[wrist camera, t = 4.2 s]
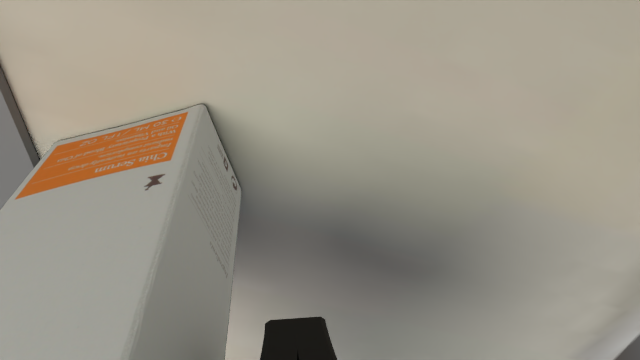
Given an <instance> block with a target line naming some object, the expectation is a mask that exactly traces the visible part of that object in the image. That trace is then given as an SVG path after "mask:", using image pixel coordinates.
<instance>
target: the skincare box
mask: <svg viewBox="0 0 640 360" xmlns="http://www.w3.org/2000/svg"><path fill="white" fill-rule="evenodd" d="M240 202H241V188H240V186H239V184H238V181H237V179H236V177H235V174H234V172H233V169H232V167H231V165H230V162H229V160H228V158H227V155H226V153H225V151H224V149H223V146H222V144H221V142H220V139H219V137H218V135H217V132H216V130H215V128H214V125H213V123H212V121H211V118H210V115H209V113H208V111H207V108H206V106H205V105H203V104H200V105H196V106H193V107H190V108H187V109H184V110H181V111H177V112H173V113H169V114H165V115H161V116H157V117H154V118H150V119H146V120H143V121H139V122H136V123H132V124H128V125H124V126H120V127H116V128H112V129H107V130H103V131H99V132H95V133H90V134H86V135H82V136H78V137H74V138H70V139H65V140H61V141H58V142H55V143H54V144H53V145H52V146H51V148H50V149H49V150H48V151H47V153H46V154H45V155H44V156H43V158H42V159H41V160H40V161H39V162H38V164H37V165H36V166H35V168H34V169H33V170H32V171H31V172H30V173H29V175H28V176H27V177H26V178H25V180H24V181H23V182H22V183H21V185H20V186H19V187H18V188H17V190H16V191H15V192H14V194H13V195H12V196H11V197H10V198H9V200H8V201H7V202H6V203H5V205H4V206H3V207H2V209H1V210H0V360H225V350H226V341H227V332H228V323H229V313H230V303H231V293H232V283H233V272H234V260H235V252H236V242H237V232H238V222H239V213H240Z"/></svg>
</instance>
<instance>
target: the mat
mask: <svg viewBox="0 0 640 360" xmlns="http://www.w3.org/2000/svg"><path fill="white" fill-rule="evenodd" d="M39 161H40V160H39V158H38V156H37V153H36V151H35V148H34V146H33V144H32V141H31V139H30V136H29V134H28V132H27V129H26V127H25V124H24V122H23V120H22V117H21V115H20V113H19V110H18V108H17V105H16V103H15V101H14V98H13V96H12V93H11V91H10V89H9V86H8V84H7V82H6V79H5V77H4V74H3V72H2V70H1V67H0V210H1V209H2V207H3V206H4V205H5V203H6V202H7V201H8V200H9V198H10V197H11V196H12V195H13V194H14V192H15V191H16V190H17V188H18V187H19V186H20V185H21V183H22V182H23V181H24V180H25V178H26V177H27V176H28V175H29V173H30V172H31V171H32V170H33V169H34V168H35V166H36V165H37V164H38V162H39Z"/></svg>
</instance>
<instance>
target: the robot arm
mask: <svg viewBox="0 0 640 360" xmlns="http://www.w3.org/2000/svg"><path fill="white" fill-rule="evenodd" d="M260 360H337V358H336V355H335V352H334V349H333V347H332V344H331V341H330V337H329V334H328V330H327V327H326V322H325V319H323V318H322V317H309V318H295V319H281V320H270V321H268V322H267V323H266V324H265V334H264V341H263V347H262V353H261V358H260Z"/></svg>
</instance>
